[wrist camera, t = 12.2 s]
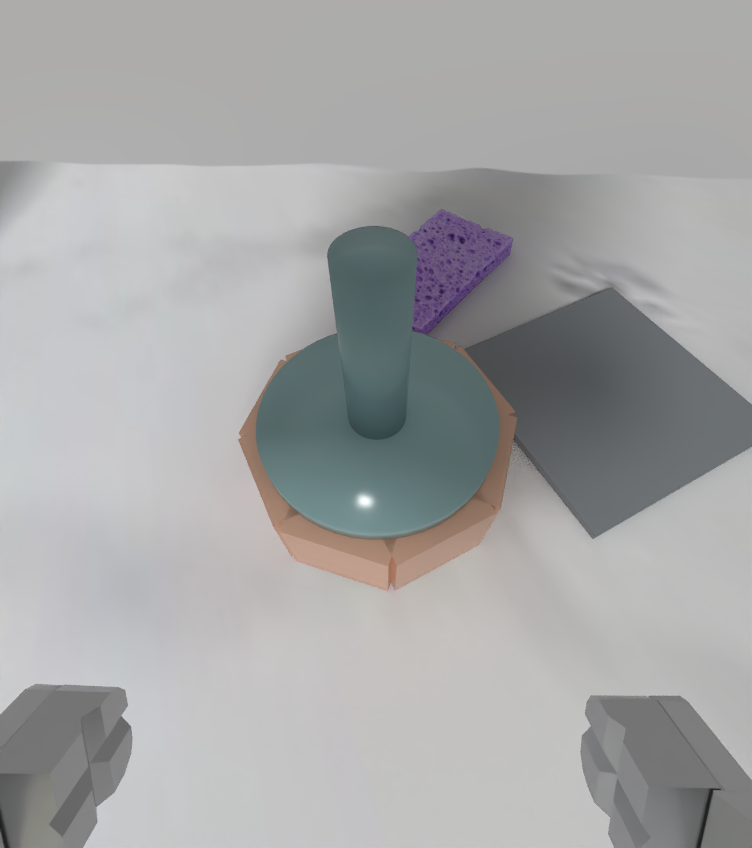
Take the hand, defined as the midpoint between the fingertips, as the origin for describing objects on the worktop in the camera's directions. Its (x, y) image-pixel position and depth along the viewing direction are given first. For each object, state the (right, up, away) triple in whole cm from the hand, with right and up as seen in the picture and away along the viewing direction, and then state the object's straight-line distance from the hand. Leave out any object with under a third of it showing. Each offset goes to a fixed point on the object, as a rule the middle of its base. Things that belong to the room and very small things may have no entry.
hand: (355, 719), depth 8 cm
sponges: (+5, +16, +28) cm, 33 cm away
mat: (+15, +7, +21) cm, 26 cm away
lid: (0, +5, +14) cm, 15 cm away
